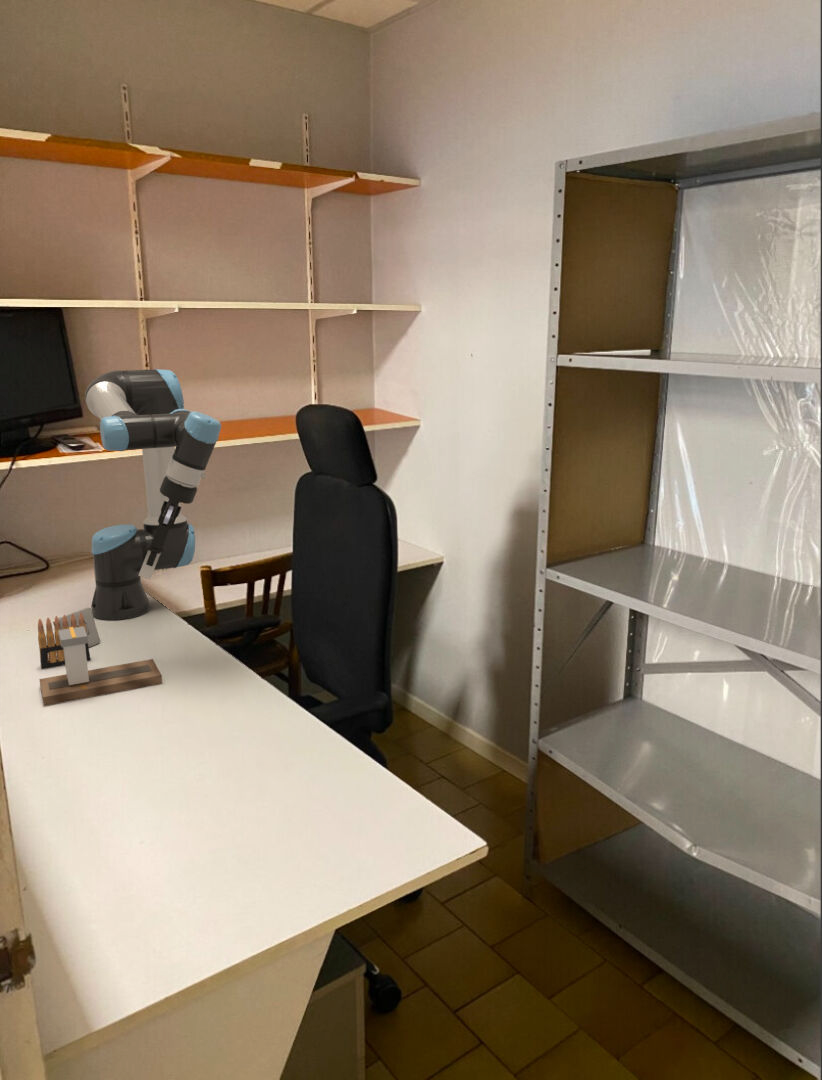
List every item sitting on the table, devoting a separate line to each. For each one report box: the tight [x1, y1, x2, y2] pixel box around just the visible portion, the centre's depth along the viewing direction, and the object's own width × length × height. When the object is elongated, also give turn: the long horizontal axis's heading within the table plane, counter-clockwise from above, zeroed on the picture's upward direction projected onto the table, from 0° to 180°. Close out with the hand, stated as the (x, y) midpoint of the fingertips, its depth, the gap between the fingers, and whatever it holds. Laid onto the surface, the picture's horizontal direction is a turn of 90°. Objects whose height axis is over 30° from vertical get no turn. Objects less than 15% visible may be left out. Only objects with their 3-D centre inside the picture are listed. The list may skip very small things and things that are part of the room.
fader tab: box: [58, 626, 89, 685], centre depth 177 cm, size 5×6×11 cm
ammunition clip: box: [37, 612, 92, 670], centre depth 191 cm, size 11×2×12 cm, turn 119°
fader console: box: [39, 658, 163, 707], centre depth 180 cm, size 24×10×2 cm, turn 117°
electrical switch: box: [52, 607, 101, 648], centre depth 201 cm, size 9×5×9 cm, turn 152°
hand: (144, 576), depth 186 cm, fingers closed
